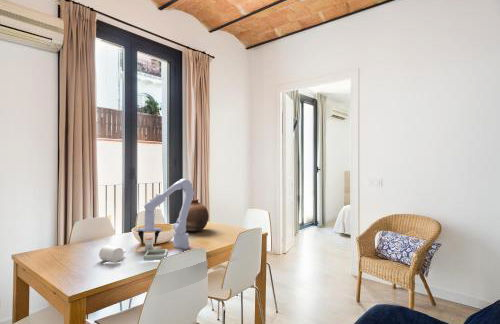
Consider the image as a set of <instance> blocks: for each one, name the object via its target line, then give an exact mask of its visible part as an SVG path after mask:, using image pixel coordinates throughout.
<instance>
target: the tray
mask: <svg viewBox="0 0 500 324" xmlns="http://www.w3.org/2000/svg"><path fill="white" fill-rule="evenodd" d="M168 251H169V250H168V248H163V249H162V248H161V249H154V250H147V252H144V254H143V259H144V260H153V259H164V258H163V257H167V254H168ZM149 253H150V254H151V253H152V254H151V255H148V254H149ZM153 253H164V254H156V255H155V254H154V255H153Z"/></svg>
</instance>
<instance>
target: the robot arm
mask: <svg viewBox="0 0 500 324" xmlns="http://www.w3.org/2000/svg"><path fill="white" fill-rule="evenodd" d="M178 190H179V191H180V190H182V191H183V192H184V194H185V196H184V199H183V202H182V205H181V209H180V211H181V212H180V211H179V213H180V215H179V214H178V218H177V219H176V222H175V223H174V225H173V229H174V233H173V248H177V249H179V248H180V249H182V250H185V249H186V250H187V249H189V245H190V242H189V239H190V238H189V235H190V234H189V233H188V232H187V231H186V219H187V216H188V212H189V209H190V205H191V202H192V200H194V196H195V192H194V188H193V184H192V182H191V181H190V180H189V179H186V178H181V179H179V180H177V181H176V182H174V183H173V184H172V185H170V186H169V187H168V188H167V189H166V190H165V191H164V192H162V193H157V194H155V196H154V197H153V198H151V199H149V200H148V201H147V202H146V203H145V204H144V205H143V207H144V225H143V226H144V227H138V228H136V233H138V236H139V239H140V242H141V245H143V244H144V236H145V235H144V234H145V233H146V232H147V233H148V232H149V233H151V232H152V233H153V232H154V244H155V245H156V244H157V240H158V238H159V237H158V236H159V235H160V234H161V232H162V227H155V210H156V208H158V207H159V206H160V205H161V204H162V203H164V202H165V201H166V198H167V197H169V196H170V195H172V194H173V193H174V192H175V191H178Z"/></svg>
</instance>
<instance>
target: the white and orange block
mask: <svg viewBox="0 0 500 324" xmlns="http://www.w3.org/2000/svg"><path fill="white" fill-rule="evenodd" d="M146 245H151V250H152V249H153V247H154V236H146V237H145V239H144V247H145V246H146Z"/></svg>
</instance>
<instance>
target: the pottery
mask: <svg viewBox="0 0 500 324" xmlns="http://www.w3.org/2000/svg"><path fill="white" fill-rule="evenodd" d="M199 201H200V199H199V198H198V199H197V198H196V199H192V202H191V205H190V209H189V212H188V216H187V219H186V232H199V231H202V230H204V228H205V227H206V226H207V224H208V222H209V217H210V216H209V211H208V209H207V207H206V206H205V204H203V203H201V202H199ZM180 212H181V210H180V211H179V213H178V216H179V215H180Z"/></svg>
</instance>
